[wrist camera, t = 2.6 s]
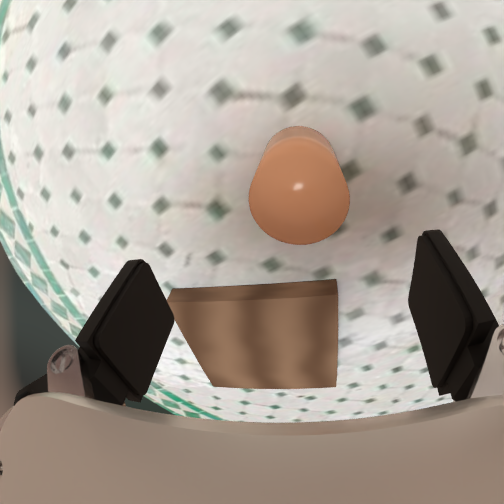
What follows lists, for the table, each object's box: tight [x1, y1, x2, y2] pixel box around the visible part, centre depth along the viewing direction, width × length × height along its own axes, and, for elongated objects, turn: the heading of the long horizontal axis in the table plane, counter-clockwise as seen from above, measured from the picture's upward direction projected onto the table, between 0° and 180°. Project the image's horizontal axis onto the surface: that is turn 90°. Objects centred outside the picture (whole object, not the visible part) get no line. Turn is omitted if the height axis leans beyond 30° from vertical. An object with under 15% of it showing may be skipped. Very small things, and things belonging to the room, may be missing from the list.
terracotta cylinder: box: [249, 126, 350, 245], centre depth 17 cm, size 5×5×7 cm
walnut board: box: [167, 279, 338, 389], centre depth 31 cm, size 16×16×2 cm
